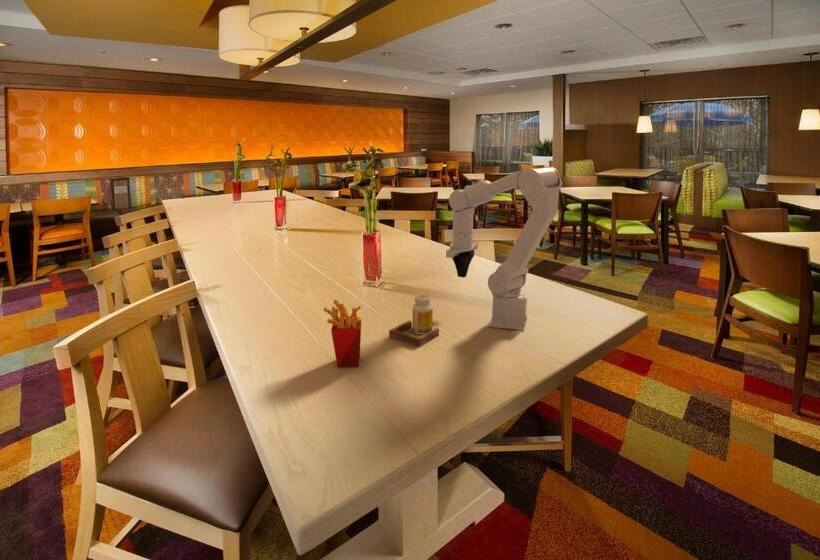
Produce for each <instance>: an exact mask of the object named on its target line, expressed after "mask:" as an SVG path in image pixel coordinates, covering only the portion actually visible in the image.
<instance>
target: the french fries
mask: <svg viewBox="0 0 820 560" xmlns="http://www.w3.org/2000/svg"><path fill="white" fill-rule="evenodd" d="M333 304H334V305H335V306H331V309H329V308H328V307H324V308H323V312H325V313H327V314H329V315H330V316H331V318H328V319H327V320H326V322H327V323H328V324H332V326H331V329H330V331H331V335H332V336H331V338H332V342H333V348H334V355H335V360H336V366H337V369H339V368H341V369H342V368H347V369H348V368H359V366H360V359H361V342H362V341H361V339H362V337H361V335H362V318H361V317H360V316H358V314H357V312H358V311H359V310H360V309H361V308H362V306H361V305H359V306H357V307H355V306H354V307H352V308H351V310H352V312H351V314H350V315H349V313H348V310H347V308H346V306H345V305H344V303H340V301H338V300H337V299H334V300H333Z"/></svg>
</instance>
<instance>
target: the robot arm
mask: <svg viewBox="0 0 820 560" xmlns="http://www.w3.org/2000/svg"><path fill="white" fill-rule="evenodd" d="M562 186H563V181H562V178H561V176H560V173H559V170H557V168H555V167H553V166H544V167H539V168H530V167H529V168H525V169H524V170H517V171H515V172H512V173H509V174H508V175H505V176H504V177H501V178H499V179H497V180H495V181H492V182H491V181H489V180H485V179H478V180H476V183H475V184H473V185H465V186H464V189H455V190H453V191H452V192H451V193H450V194H449V198H448V205H449V207H450V208H451V210H452V244H450V245H449V248H448V249H447V250H445V257H446V258H448V259H449V258H450V259H451V260H452V261H453V263H454V265H455V269H456V273H457V277H458V278H463V279H464V278H466V277H467V274H468V270H469V267H470V265H471V262H472V260H473V258H474V256H475V252H473V250H477V249H478V248H479V247H478V246H479V242H477V241H474V240H473V239H474V238H473V237H474V235H473V234H474V232H473V231H474V228H473V227H474V213H475V211H476V210H475V209H476V207H478V206H480V205H482V204H483V205H484V204H485V203H489V202H491V201H493V200H494V199H495V198H496V197H495V196H496V195H497V194H500V193H503V192H506V191H509V190H513V189H514V190H515V191H520V192H521V194H522V196H523V197H524V199H525V200H526V202H528V204H529V206H530V207H531V209H532V210H531V213H530V215H529V216H528V218H527V221H526V223H525V224H524V226H523V227H522V229H521V232H520V233H519V236H518V238H517V239H516V241H515V243H514V245H513V246H512V249H511V250H510V252H509V254H508V256H507V257H506V260H505V261H504V262H502V263H501V264H499V266H498V267H497V268H496V270H495V271H494V272H493V273H491V274H490V275H489V277H488V279H487V286H488V289H489V291H490V293H491V295H492V311H491V312H492V313H491V314H492V315H491V316H492V317H491V319H490V321H489V323H488V327H489V328H496V329H506V330H517V331H524V330H525V327H526V323H527V320H528V314H527V308H528V295H527V294H523V293H521V292H522V288H523V287H524V286H525V285H526V283H527V281H526V280H527V275H528V272H529V268H528V267H527V266H528V263H529V262H530V260H531V258H532V257H533V256H534V253H535V252H536V250H537V248H538V246H539V245H540V243H541V241H542V240H543V238H544V236H545V234H546V233H547V231H548V229H549V227H550V225H551V224H552V222H553V220H554V218H555V217H556V214H557V212H558V207H559V198H560V191H561V188H562Z"/></svg>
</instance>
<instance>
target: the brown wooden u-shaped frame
mask: <svg viewBox="0 0 820 560" xmlns="http://www.w3.org/2000/svg"><path fill="white" fill-rule="evenodd" d="M411 329H413V320H407V321H405V322H403V323H400V324H399V325H398V326H395V327H393V328H391V329H389V330H388V338H390V339H393V340H397V341H398V342H399V341H400V342H403V343H406V344H410V345H412V346H416V347H423V346H424V345H425V344H427V343H429V342H431V341H432V340H434V339H436V338H437V337H439V336H440V332H439V331H440V328H437V327H435V328H433V330H431V331H429V332H427V333H426V334H424V335H420V336H416V335H412V334H409V333H406V332H407V331H409V330H411Z"/></svg>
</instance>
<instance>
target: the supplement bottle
mask: <svg viewBox="0 0 820 560" xmlns="http://www.w3.org/2000/svg"><path fill="white" fill-rule="evenodd" d="M414 302H415V304H413V305H412V331H413V333H414V334H416V335H420V336H422V335H424V334H426V333H427V332H429V331H431V330H433V329H434V328H433V318H434V317H433V311H434V310H433V305H432V304H430V303H431V298H430V296H427V295H416V297H414Z"/></svg>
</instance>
